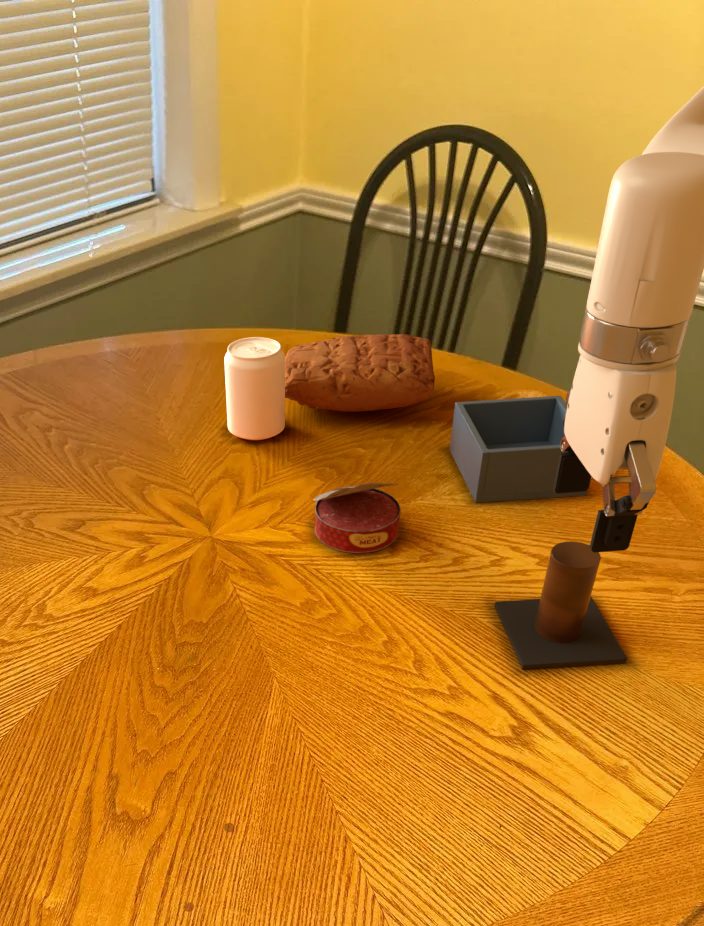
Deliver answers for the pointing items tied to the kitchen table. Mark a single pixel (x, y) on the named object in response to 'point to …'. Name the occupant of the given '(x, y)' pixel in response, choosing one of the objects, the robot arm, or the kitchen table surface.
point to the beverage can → (255, 388)
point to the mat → (541, 653)
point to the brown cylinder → (566, 591)
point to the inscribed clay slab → (360, 372)
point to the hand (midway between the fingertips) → (588, 518)
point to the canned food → (357, 518)
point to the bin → (509, 447)
